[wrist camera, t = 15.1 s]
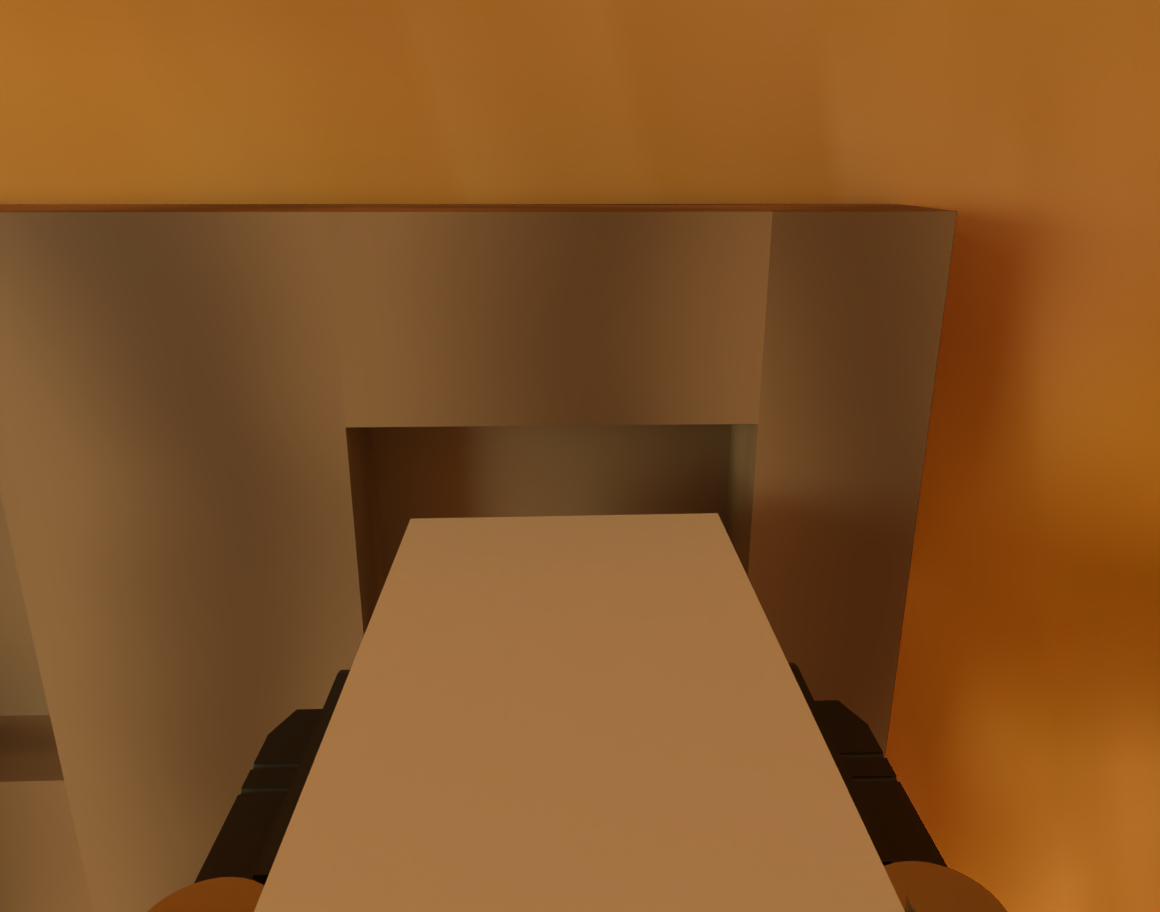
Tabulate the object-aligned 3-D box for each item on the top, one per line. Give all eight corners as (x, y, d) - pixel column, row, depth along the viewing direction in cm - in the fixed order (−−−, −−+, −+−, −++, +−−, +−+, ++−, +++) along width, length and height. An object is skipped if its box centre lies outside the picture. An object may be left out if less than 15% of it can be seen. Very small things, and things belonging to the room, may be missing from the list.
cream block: (429, 775, 14) (289, 1473, 7) (409, 518, 13) (205, 1034, 5) (706, 768, 14) (877, 1445, 7) (717, 513, 13) (950, 1010, 5)
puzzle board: (-225, 1017, 20) (-322, 1125, 18) (-540, 204, 15) (-741, 213, 12) (809, 987, 21) (841, 1087, 19) (896, 204, 15) (957, 212, 13)
